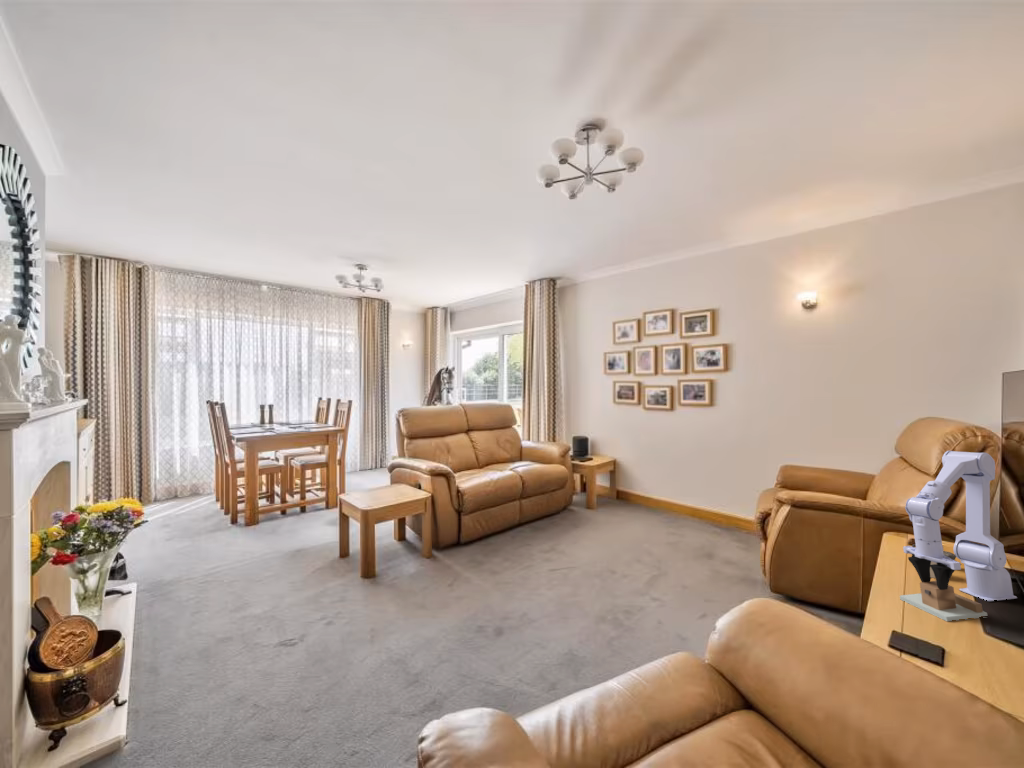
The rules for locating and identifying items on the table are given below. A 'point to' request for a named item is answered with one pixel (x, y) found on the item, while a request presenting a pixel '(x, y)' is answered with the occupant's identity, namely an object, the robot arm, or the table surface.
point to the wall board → (962, 610)
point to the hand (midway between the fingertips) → (934, 585)
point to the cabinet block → (937, 596)
